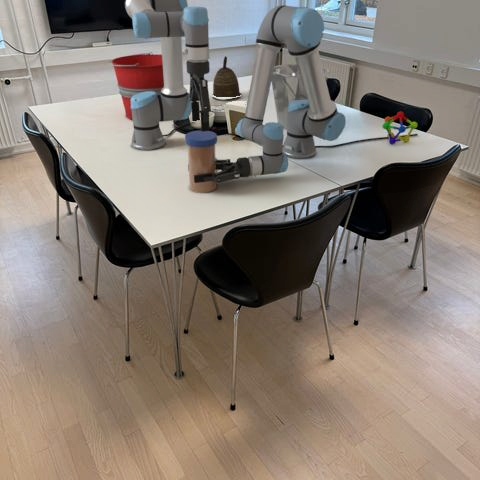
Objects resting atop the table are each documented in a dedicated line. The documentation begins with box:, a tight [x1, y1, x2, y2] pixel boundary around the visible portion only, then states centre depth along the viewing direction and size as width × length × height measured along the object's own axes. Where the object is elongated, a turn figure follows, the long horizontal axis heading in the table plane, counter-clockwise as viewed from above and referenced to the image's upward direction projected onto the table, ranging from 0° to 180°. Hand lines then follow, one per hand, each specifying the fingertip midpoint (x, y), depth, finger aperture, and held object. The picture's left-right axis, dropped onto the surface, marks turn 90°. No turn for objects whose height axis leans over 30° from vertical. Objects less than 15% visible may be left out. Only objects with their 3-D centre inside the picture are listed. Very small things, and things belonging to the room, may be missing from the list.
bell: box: [212, 56, 242, 97], centre depth 278 cm, size 19×26×20 cm
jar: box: [186, 144, 217, 194], centre depth 163 cm, size 10×10×20 cm
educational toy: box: [382, 110, 418, 145], centre depth 207 cm, size 16×13×15 cm
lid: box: [184, 129, 218, 147], centre depth 158 cm, size 11×11×2 cm
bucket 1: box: [108, 51, 164, 121], centre depth 240 cm, size 35×35×30 cm
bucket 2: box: [271, 63, 330, 130], centre depth 226 cm, size 30×30×28 cm
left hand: (200, 125), depth 156 cm, fingers open, 12 cm apart
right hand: (191, 173), depth 164 cm, fingers closed on jar, 10 cm apart
